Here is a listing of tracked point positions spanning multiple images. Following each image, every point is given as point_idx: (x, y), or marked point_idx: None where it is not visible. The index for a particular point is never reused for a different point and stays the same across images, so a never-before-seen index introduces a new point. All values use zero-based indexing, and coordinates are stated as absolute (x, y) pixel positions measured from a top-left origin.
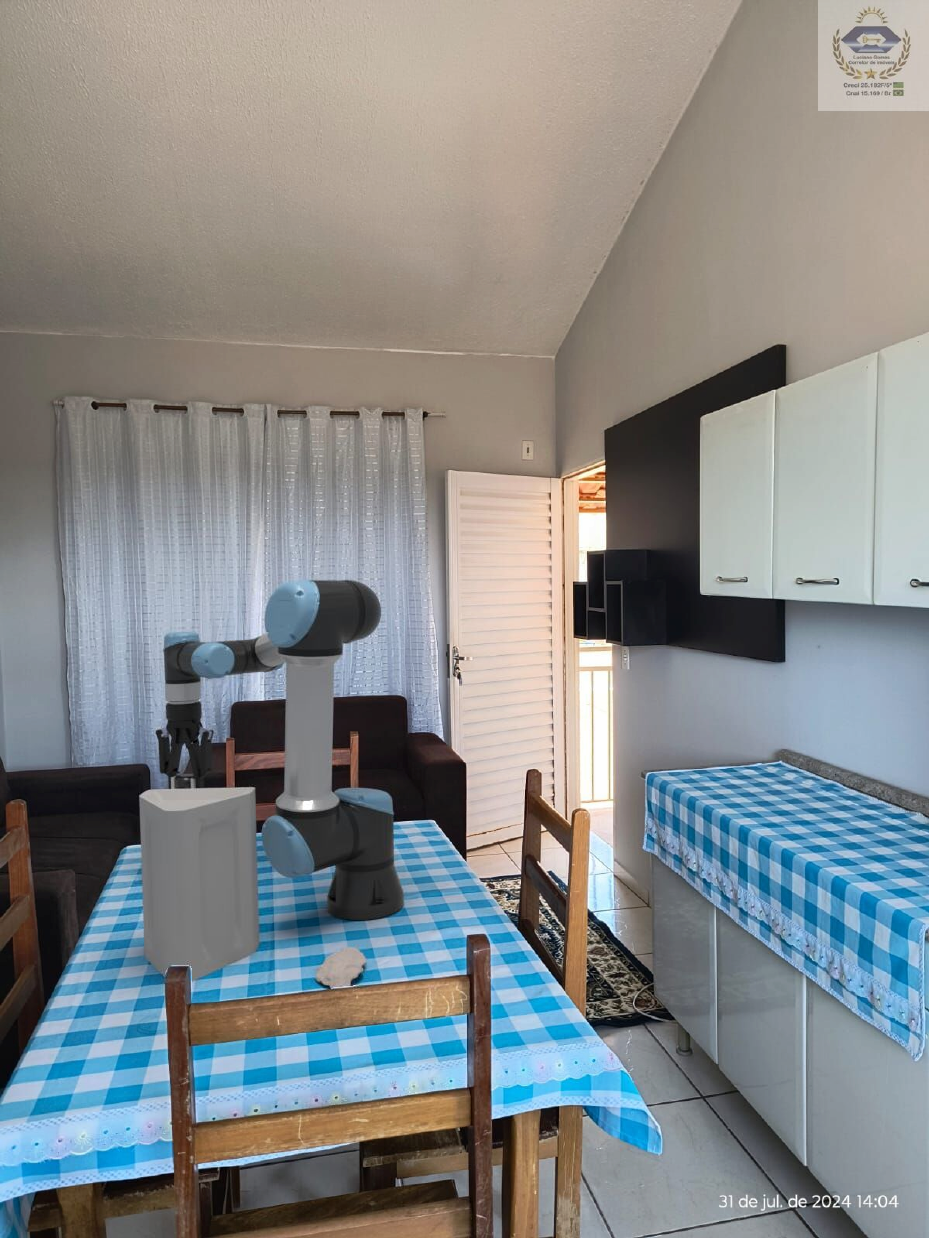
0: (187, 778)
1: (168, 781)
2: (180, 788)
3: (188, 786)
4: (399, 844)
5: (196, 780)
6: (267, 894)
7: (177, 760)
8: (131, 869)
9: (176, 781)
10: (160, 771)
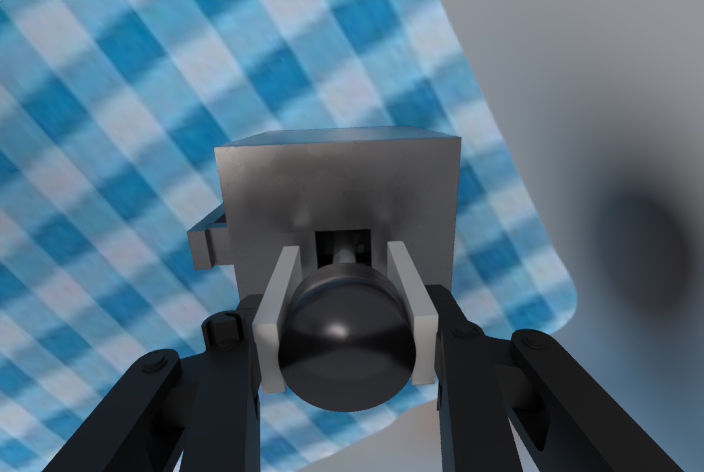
0: (296, 316)
1: (461, 311)
2: (341, 266)
3: (298, 289)
4: (30, 457)
5: (249, 331)
6: (56, 126)
7: (445, 458)
8: (502, 185)
9: (377, 290)
10: (546, 337)
